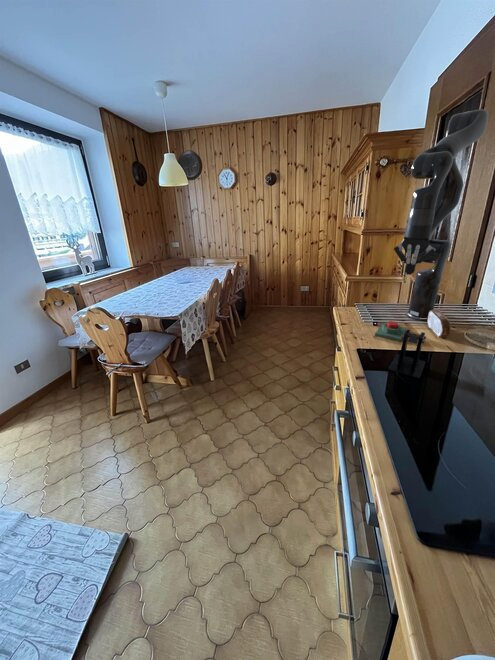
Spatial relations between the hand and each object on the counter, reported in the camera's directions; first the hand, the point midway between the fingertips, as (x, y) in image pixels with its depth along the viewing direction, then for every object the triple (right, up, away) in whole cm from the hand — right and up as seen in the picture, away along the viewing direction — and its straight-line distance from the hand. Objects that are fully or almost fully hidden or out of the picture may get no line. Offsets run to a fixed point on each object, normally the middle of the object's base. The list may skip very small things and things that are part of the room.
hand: (409, 274), depth 101 cm
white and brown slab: (+17, -21, +11) cm, 30 cm away
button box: (-1, -22, +12) cm, 25 cm away
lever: (-4, -24, -9) cm, 26 cm away
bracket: (-6, -33, -9) cm, 34 cm away
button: (-1, -19, +10) cm, 22 cm away
